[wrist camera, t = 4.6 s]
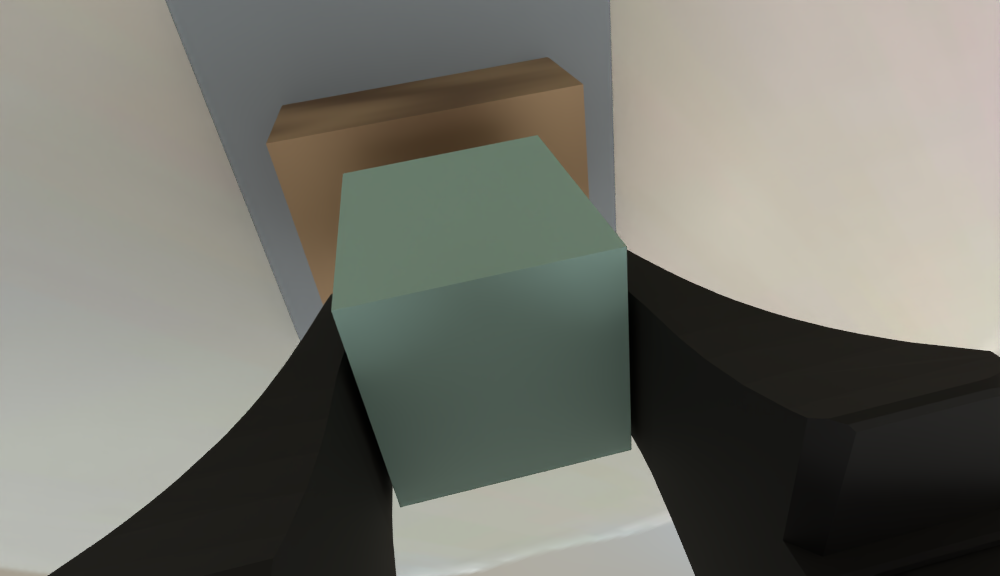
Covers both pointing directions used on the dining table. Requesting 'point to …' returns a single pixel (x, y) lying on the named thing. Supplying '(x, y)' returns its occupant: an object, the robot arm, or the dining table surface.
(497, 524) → the dining table surface
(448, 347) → the teal block
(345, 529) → the robot arm
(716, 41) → the dining table surface
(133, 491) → the dining table surface
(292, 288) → the mat
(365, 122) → the walnut block
